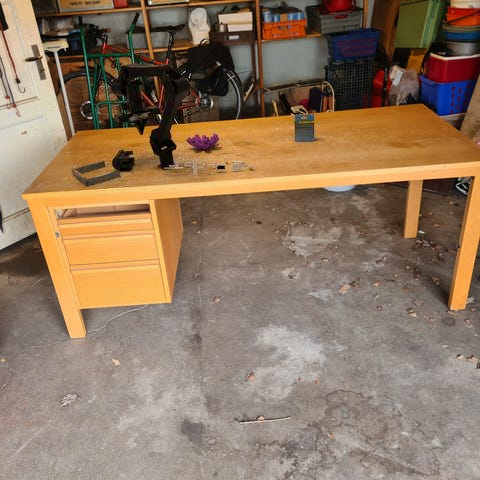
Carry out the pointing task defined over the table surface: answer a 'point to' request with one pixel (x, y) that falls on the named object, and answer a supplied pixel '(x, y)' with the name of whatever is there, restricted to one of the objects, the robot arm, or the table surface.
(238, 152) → the table surface
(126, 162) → the end cap
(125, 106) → the robot arm
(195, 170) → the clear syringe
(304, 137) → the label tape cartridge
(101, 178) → the frame
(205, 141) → the purple flower bowl
